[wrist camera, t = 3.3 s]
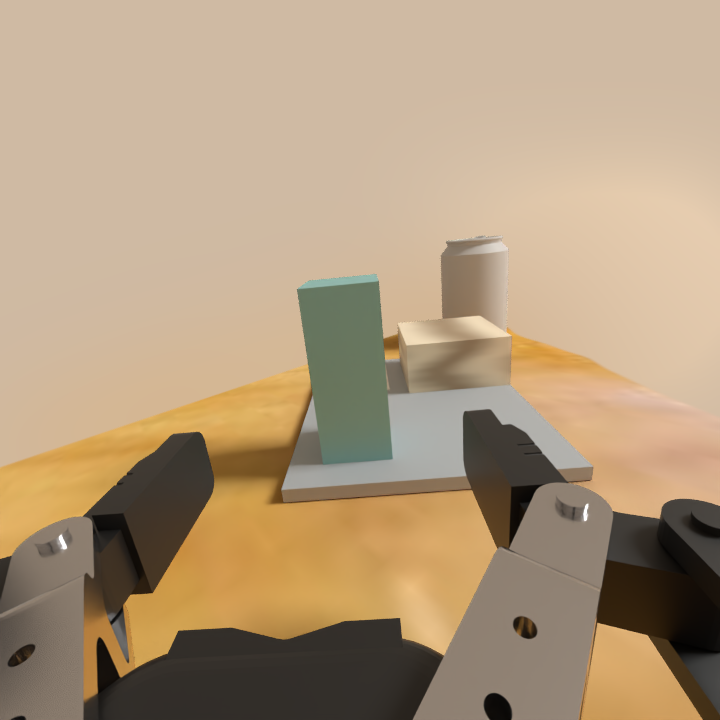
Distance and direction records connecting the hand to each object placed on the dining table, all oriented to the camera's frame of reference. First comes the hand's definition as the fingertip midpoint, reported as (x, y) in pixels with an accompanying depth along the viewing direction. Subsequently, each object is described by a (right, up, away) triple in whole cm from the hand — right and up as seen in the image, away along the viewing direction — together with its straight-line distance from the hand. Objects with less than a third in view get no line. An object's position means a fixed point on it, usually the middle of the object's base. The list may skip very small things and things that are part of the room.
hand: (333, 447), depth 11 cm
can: (+15, +5, +34) cm, 38 cm away
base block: (+9, +2, +22) cm, 23 cm away
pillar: (+1, -2, +11) cm, 12 cm away
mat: (+5, -1, +17) cm, 18 cm away
